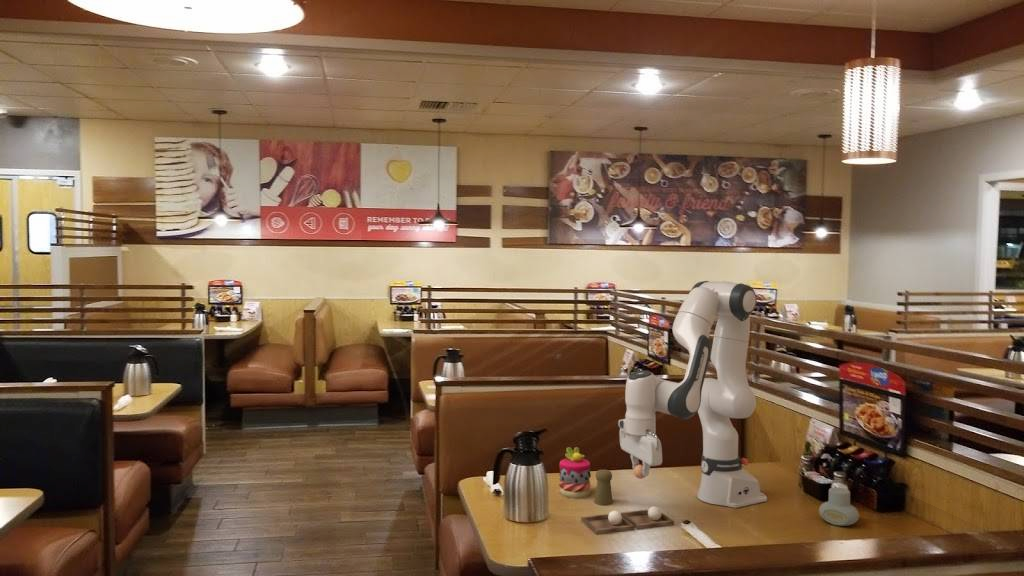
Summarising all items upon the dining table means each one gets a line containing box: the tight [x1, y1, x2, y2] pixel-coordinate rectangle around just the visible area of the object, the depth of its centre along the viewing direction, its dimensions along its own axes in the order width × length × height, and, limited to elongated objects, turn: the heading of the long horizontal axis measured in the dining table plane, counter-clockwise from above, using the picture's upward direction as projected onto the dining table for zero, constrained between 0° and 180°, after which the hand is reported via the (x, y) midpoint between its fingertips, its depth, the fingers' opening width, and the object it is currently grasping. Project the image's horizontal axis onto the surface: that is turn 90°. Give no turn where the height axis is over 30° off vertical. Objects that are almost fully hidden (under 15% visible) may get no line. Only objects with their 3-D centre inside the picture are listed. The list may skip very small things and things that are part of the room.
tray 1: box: [580, 513, 635, 536], centre depth 212 cm, size 12×11×2 cm
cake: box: [558, 446, 592, 500], centre depth 242 cm, size 10×11×15 cm
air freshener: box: [818, 486, 860, 527], centre depth 217 cm, size 11×8×10 cm
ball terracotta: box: [633, 464, 647, 480], centre depth 215 cm, size 4×4×4 cm
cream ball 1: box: [608, 510, 622, 525], centre depth 213 cm, size 4×4×4 cm
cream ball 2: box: [647, 506, 662, 520], centre depth 217 cm, size 4×4×4 cm
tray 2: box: [619, 508, 675, 531], centre depth 216 cm, size 12×11×2 cm
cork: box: [593, 469, 614, 507], centre depth 232 cm, size 6×6×11 cm
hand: (640, 472), depth 215 cm, fingers closed on ball terracotta, 4 cm apart
